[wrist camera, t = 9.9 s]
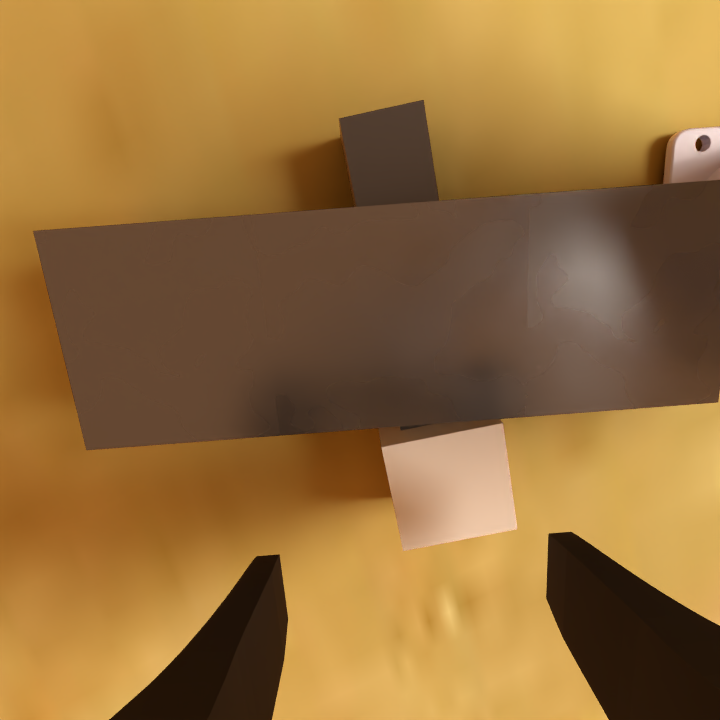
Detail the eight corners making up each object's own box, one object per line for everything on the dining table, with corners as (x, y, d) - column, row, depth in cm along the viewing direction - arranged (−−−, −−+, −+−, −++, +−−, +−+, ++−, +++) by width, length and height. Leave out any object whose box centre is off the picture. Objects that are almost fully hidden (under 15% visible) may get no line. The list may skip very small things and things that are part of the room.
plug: (433, 117, 16) (456, 82, 12) (487, 478, 19) (517, 528, 16) (319, 142, 16) (310, 114, 12) (393, 496, 19) (403, 551, 16)
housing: (629, 196, 16) (747, 177, 12) (618, 358, 18) (717, 402, 13) (127, 234, 16) (33, 231, 11) (158, 393, 18) (86, 449, 13)
